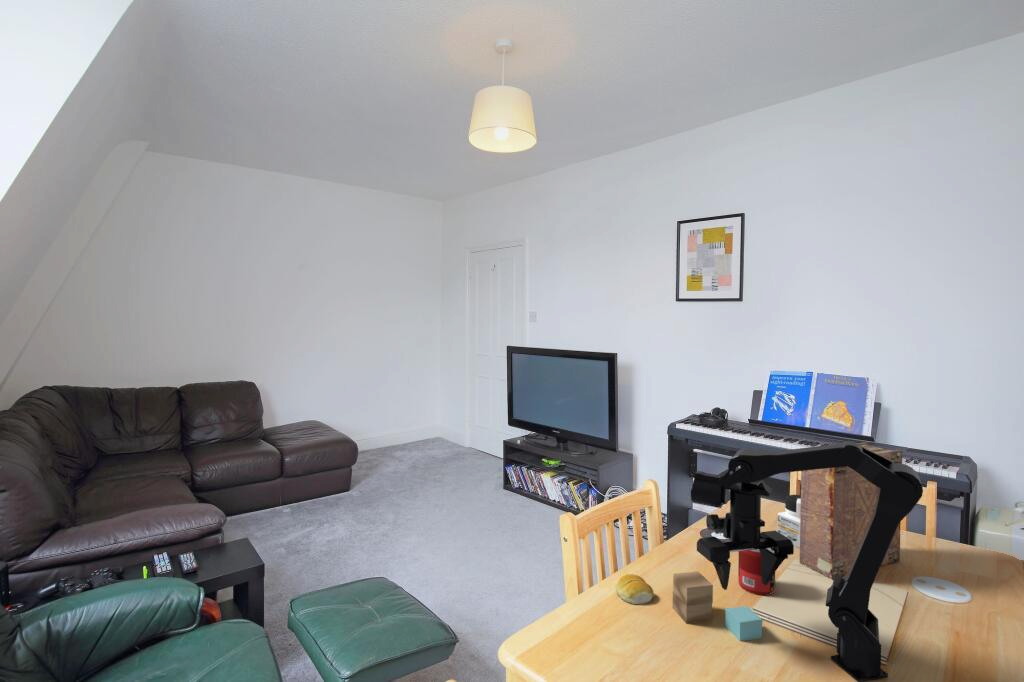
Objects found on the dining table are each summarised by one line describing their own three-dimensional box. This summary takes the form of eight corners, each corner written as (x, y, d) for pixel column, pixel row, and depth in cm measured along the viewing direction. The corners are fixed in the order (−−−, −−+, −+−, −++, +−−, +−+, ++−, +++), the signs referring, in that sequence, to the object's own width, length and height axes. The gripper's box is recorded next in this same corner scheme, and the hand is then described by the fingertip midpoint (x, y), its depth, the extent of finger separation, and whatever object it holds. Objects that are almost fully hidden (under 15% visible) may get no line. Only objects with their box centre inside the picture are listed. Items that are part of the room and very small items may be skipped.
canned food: (779, 597, 119) (779, 551, 118) (742, 594, 120) (743, 548, 120) (769, 580, 126) (770, 537, 126) (735, 577, 128) (735, 534, 127)
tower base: (711, 621, 110) (712, 603, 110) (686, 624, 109) (686, 606, 109) (697, 605, 116) (697, 588, 116) (672, 608, 115) (672, 591, 115)
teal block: (762, 638, 104) (762, 619, 104) (739, 641, 103) (740, 622, 103) (746, 624, 109) (746, 605, 109) (725, 626, 108) (725, 608, 108)
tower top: (712, 603, 110) (712, 584, 110) (686, 606, 109) (687, 587, 109) (697, 588, 116) (698, 571, 116) (673, 591, 115) (673, 573, 115)
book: (865, 547, 144) (868, 441, 142) (900, 561, 135) (903, 449, 134) (799, 563, 135) (801, 451, 134) (831, 580, 126) (834, 460, 125)
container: (776, 538, 150) (777, 494, 149) (794, 533, 153) (795, 490, 153) (801, 549, 143) (801, 503, 142) (819, 543, 146) (820, 499, 146)
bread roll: (640, 583, 126) (640, 567, 126) (658, 602, 117) (658, 585, 117) (609, 587, 124) (609, 571, 124) (625, 607, 116) (625, 590, 115)
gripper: (759, 495, 114) (759, 563, 115) (683, 501, 111) (682, 572, 112) (796, 514, 104) (795, 589, 104) (712, 522, 100) (711, 599, 101)
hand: (744, 586), depth 106 cm, fingers open, 9 cm apart
